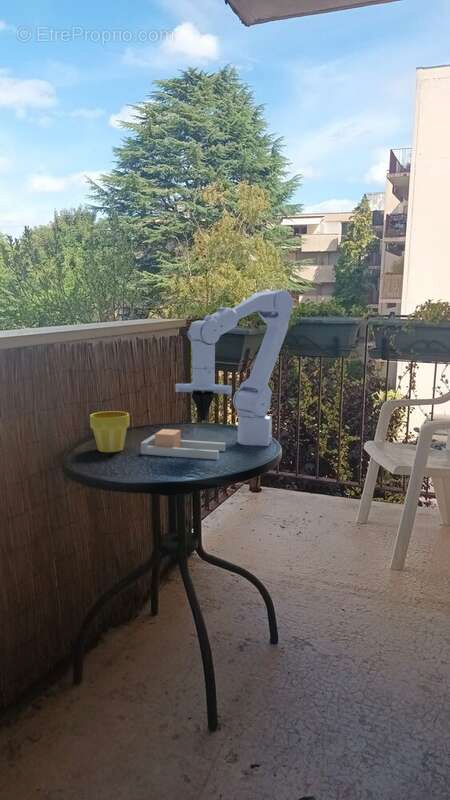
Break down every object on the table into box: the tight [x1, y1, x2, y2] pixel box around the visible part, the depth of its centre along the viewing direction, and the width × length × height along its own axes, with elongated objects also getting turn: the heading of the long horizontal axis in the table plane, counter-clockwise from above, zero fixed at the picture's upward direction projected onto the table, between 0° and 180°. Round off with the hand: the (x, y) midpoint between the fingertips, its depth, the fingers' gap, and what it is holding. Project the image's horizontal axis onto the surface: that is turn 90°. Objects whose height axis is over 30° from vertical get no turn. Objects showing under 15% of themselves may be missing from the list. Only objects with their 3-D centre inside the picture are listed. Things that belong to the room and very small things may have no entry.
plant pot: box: [89, 410, 130, 453], centre depth 143 cm, size 10×10×10 cm
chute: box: [140, 434, 227, 460], centre depth 138 cm, size 20×14×4 cm
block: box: [154, 428, 182, 448], centre depth 139 cm, size 5×6×5 cm
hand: (203, 420), depth 138 cm, fingers closed
